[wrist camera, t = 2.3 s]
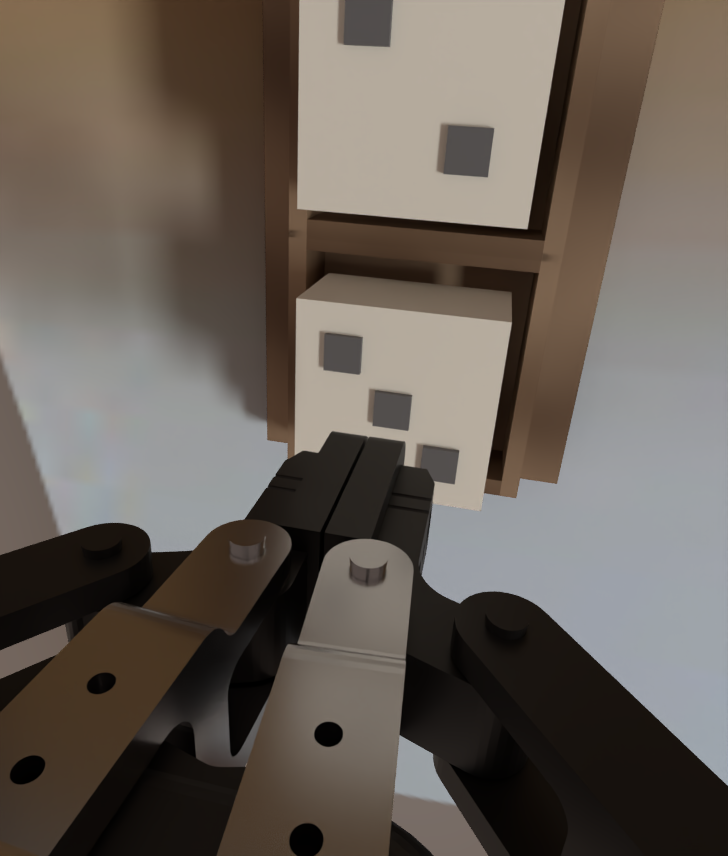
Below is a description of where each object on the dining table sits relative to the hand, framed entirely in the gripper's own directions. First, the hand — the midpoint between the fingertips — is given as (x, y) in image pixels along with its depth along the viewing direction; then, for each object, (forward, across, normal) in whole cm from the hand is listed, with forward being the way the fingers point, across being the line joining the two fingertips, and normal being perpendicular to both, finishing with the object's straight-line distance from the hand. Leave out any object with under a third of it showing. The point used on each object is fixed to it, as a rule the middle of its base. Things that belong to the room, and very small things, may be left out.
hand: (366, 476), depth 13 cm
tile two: (+6, 0, -7) cm, 9 cm away
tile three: (+6, 0, 0) cm, 6 cm away
